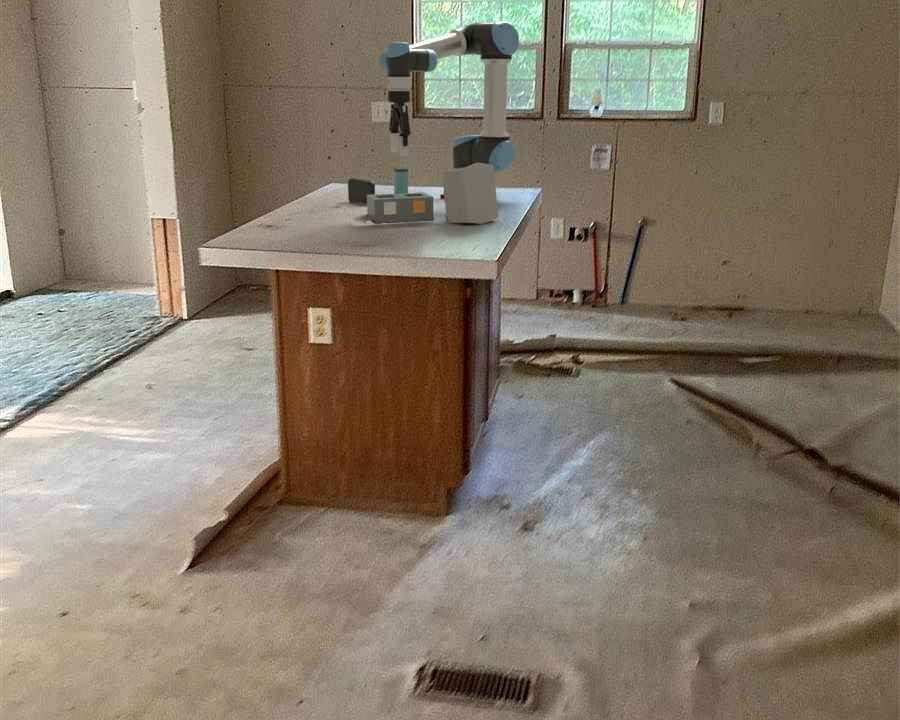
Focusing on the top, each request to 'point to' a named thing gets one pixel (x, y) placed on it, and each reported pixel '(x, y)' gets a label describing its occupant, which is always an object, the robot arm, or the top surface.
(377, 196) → the junction block
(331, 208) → the top surface
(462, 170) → the electrical switch box
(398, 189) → the plug
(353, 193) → the dark grey curved block
